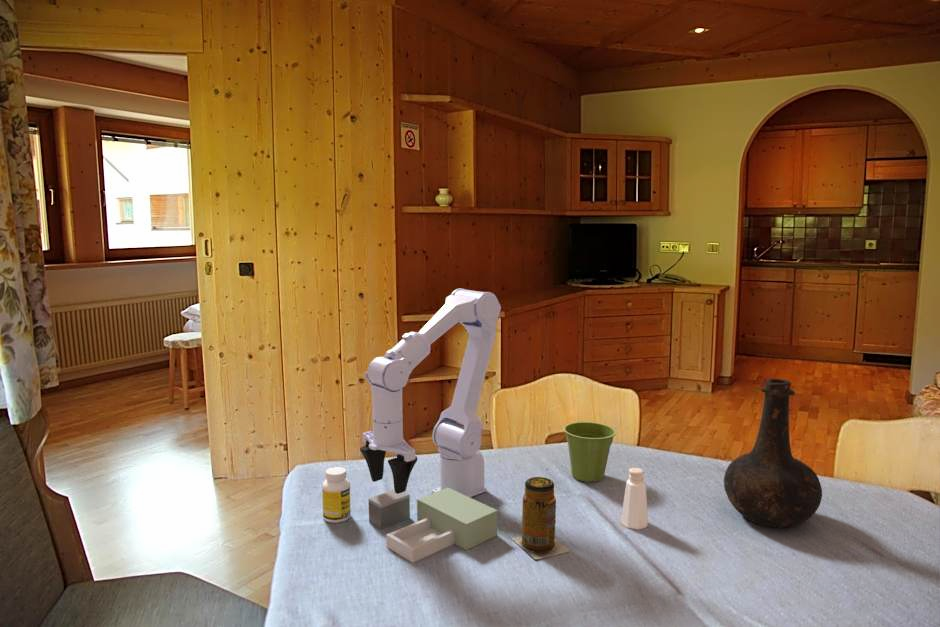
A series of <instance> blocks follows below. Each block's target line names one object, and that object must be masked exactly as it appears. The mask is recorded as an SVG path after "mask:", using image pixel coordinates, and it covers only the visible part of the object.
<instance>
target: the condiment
mask: <svg viewBox="0 0 940 627" xmlns="http://www.w3.org/2000/svg"><path fill="white" fill-rule="evenodd" d="M524 483H525V484H524V494H523V496H522V508H521V509H522V512H521V513H522V516H521V517H522V518H521V520H522V521H521V522H522V523H521V536H515V537H512V538H511V540H512V541H513V542H514V543H515V544H516V545H518V547H520V548H521V549H522V550H524V551H525V552H526V554H528V555H530V557H532V558H533V559H534V560H541V559H545V558H551V557H553V556H555V557H556V556H558V555H562V554H565V553H569V552H570V550H569V549H568V548H567V547H566V546H564V545H563V544H562V543H561V542H559V540H556V539H555V538H556V536H555V535H556V516H557V515H556V512H557V506H556V505H557V499H556V496H555V483H554V482H553V480H552V479H550V478H548V477H543V476H534V477H533V476H532V477H529V478H528V479H526V481H525V482H524Z"/></svg>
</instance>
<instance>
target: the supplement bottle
mask: <svg viewBox="0 0 940 627" xmlns="http://www.w3.org/2000/svg"><path fill="white" fill-rule="evenodd" d="M321 487H322V488H321V490H322V493H321V494H322V517H323V520H324V521H325V522H328V523H332V524H336V523H343V522H346V521H347V520H348V519H349V518H350V517H351V483H350V481H349V479H347V468H345V467H341V466H335V467H330V468H328V469H326V470H325V480H324V481H323V483H322V485H321Z"/></svg>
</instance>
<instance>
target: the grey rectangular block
mask: <svg viewBox="0 0 940 627" xmlns="http://www.w3.org/2000/svg"><path fill="white" fill-rule="evenodd" d="M410 495H411V494H410V493H407V492H406V491H405V492H402V493H399V494H397V493H395V490H394V489H391V490H388V491H385V492H383V493H380V494H378V495H375V496H372V497H369V498H368V522H369V523H370V524H372V525H373V526H374V527H377V528H378V529H380V530H383V529H386V528H387V527H390V526H392V525H395V524H398V523H400V522H402V521H405V520H408V519H410V518H411V506H410V505H411V504H410V502H411V501H410V500H411V499H410Z"/></svg>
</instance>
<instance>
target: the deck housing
mask: <svg viewBox="0 0 940 627" xmlns="http://www.w3.org/2000/svg"><path fill="white" fill-rule="evenodd" d="M416 507H417V508H416V511H417V512H416V519H417V521H416V522H413V523H411V524H408V525H406V526H403V527H402V528H399V529H395V530H394V531H391V532H389V533H386V535H385V537H386V548H388V549H389V550H391V551H392V552H394V553H395V554H398V555H399V556H401V557H402V558H404V559H406V560H407V561H409V562H410V563H412V564H413V563H415V562H418V561H420V560H422V559H424V558H426V557H428V556H431V555H433V554H436V553H437V552H440V551H442V550H444V549H446V548H448V547H450V546H453V545H456V546H459V547H460V548H462V549H464V551H465V550H466V551H468V550H470V549H472V548H473V547H475V546H477V545H480V544H482V543H485V542H486V541H488V540H490V539H492V538H495V537H496V536H498V509H496V508H493V507H492V506H489V505H487V504H484V503H482V502H480V501H478V500H476V499H474V498H473V497H471V498H470V497H467V496H465V495H463V494H461V493H459V492H457V491H454V490H452V489H450V488H445V489H443V490H440V491H438V492H435V493H433V492H431V493H430V494H427V495H425V496H422V497H419V498H417V499H416Z"/></svg>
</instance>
